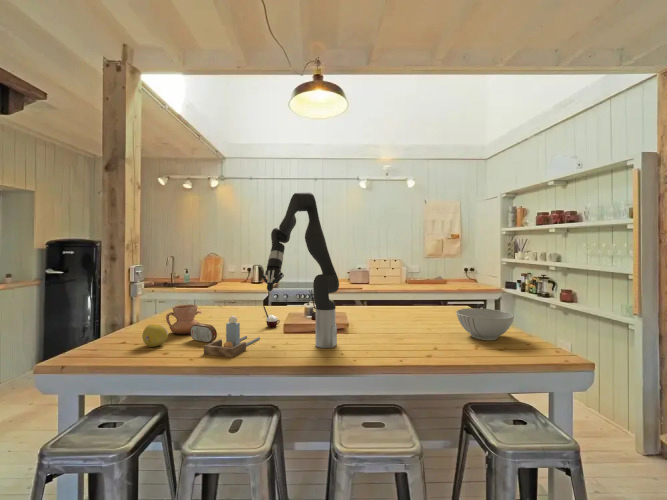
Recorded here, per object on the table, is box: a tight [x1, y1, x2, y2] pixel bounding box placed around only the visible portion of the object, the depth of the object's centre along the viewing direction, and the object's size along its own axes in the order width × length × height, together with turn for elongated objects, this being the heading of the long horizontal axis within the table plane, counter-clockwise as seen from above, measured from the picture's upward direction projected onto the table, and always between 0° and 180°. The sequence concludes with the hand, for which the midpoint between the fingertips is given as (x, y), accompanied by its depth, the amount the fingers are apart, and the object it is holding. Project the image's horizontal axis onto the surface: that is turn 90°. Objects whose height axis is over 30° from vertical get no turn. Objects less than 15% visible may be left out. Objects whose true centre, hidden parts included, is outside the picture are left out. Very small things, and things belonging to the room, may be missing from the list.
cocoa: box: [262, 305, 281, 328], centre depth 198 cm, size 10×6×12 cm, turn 98°
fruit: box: [141, 323, 169, 348], centre depth 162 cm, size 10×11×10 cm
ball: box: [223, 341, 233, 348], centre depth 155 cm, size 4×4×4 cm
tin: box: [190, 322, 218, 344], centre depth 169 cm, size 15×3×8 cm, turn 65°
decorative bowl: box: [455, 307, 515, 341], centre depth 178 cm, size 27×27×12 cm
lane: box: [240, 335, 261, 347], centre depth 166 cm, size 8×17×1 cm, turn 161°
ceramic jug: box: [165, 303, 203, 335], centre depth 185 cm, size 18×14×14 cm
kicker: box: [225, 315, 241, 347], centre depth 158 cm, size 5×4×14 cm
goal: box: [203, 339, 247, 358], centre depth 153 cm, size 14×10×4 cm
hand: (269, 290), depth 177 cm, fingers closed
